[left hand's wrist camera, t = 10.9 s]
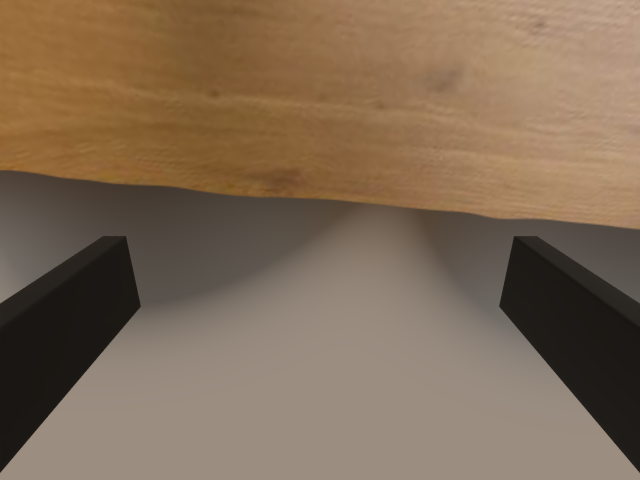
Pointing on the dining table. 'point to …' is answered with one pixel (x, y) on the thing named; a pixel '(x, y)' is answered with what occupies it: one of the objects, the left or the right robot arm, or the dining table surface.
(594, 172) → the dining table surface
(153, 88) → the dining table surface
